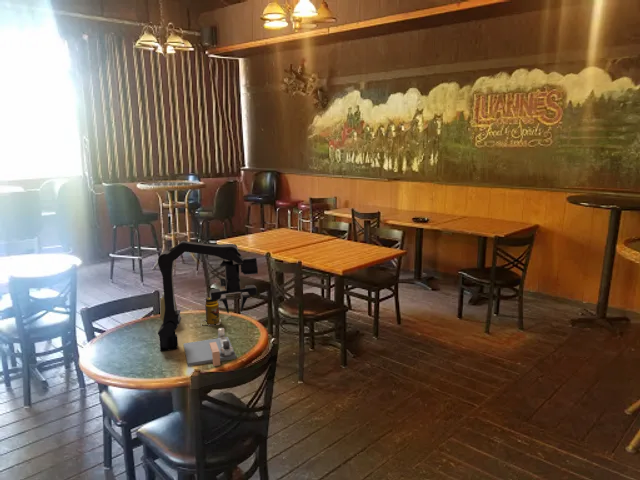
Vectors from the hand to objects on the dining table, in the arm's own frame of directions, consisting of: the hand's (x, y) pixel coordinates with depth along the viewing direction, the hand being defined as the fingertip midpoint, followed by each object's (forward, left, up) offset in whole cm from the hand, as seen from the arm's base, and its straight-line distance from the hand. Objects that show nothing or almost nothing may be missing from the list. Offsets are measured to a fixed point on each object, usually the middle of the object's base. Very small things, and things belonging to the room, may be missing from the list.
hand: (234, 312), depth 205 cm
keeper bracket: (-11, -14, -13) cm, 22 cm away
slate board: (-12, -6, -13) cm, 19 cm away
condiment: (-7, +27, -13) cm, 31 cm away
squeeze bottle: (-25, +35, -13) cm, 45 cm away
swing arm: (-6, -7, -11) cm, 15 cm away
